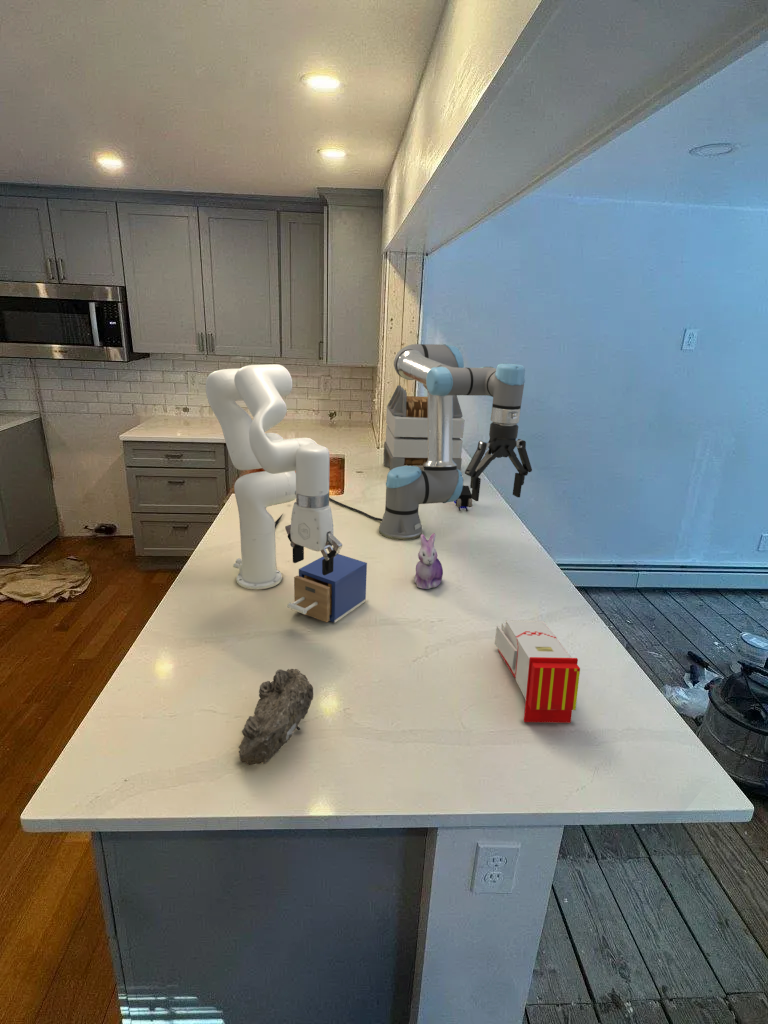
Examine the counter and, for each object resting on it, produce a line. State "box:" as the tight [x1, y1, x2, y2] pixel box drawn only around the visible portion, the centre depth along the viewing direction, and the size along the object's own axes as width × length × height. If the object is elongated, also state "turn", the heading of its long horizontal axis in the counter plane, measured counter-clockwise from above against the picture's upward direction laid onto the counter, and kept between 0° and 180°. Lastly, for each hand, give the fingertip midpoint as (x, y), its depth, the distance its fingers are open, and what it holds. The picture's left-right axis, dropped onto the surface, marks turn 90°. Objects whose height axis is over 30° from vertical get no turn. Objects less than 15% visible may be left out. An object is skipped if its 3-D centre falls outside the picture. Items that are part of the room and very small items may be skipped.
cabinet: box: [298, 553, 368, 624], centre depth 149 cm, size 14×12×12 cm
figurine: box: [413, 532, 444, 590], centre depth 162 cm, size 9×10×15 cm
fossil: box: [238, 668, 314, 766], centre depth 104 cm, size 22×10×15 cm
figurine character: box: [453, 484, 473, 512], centre depth 229 cm, size 7×8×15 cm
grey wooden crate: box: [383, 384, 465, 472], centre depth 268 cm, size 34×33×41 cm
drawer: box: [287, 575, 332, 623], centre depth 144 cm, size 18×10×9 cm, turn 148°
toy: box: [494, 619, 581, 724], centre depth 121 cm, size 12×13×30 cm
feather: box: [275, 513, 284, 529], centre depth 210 cm, size 2×28×2 cm
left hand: (312, 567), depth 135 cm, fingers open, 9 cm apart
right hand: (495, 497), depth 160 cm, fingers open, 13 cm apart
